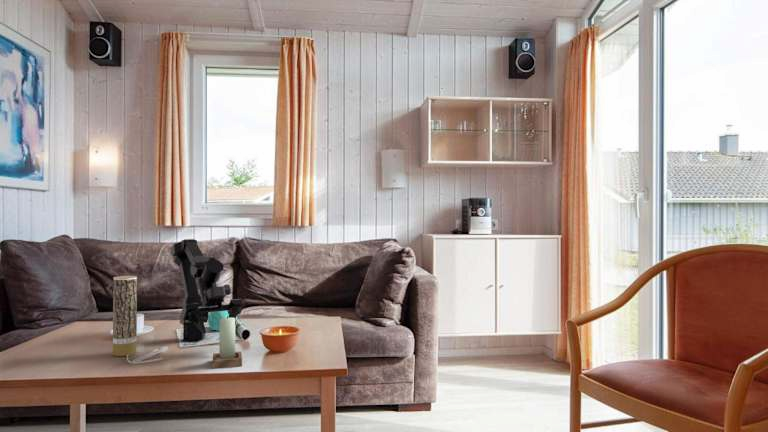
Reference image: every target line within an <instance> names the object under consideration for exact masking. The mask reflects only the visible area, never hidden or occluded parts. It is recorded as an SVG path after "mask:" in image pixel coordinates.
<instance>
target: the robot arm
mask: <svg viewBox="0 0 768 432" xmlns="http://www.w3.org/2000/svg"><path fill="white" fill-rule="evenodd" d="M170 256H171V257H172V259H173V262H174V263H175V264H176V265H177V266H178V267H179V270H180V275H181V281H182V285H183V292H184V295H185V296H184V297H185V302H184V304H183V306H182V309H181V312H180V315H179V323H180V325H182V326H183V332H182V334H183V335H182V338H183V339H180V340H181V342H185V341H199V342H200V340H201V339H202V340H204V339H205V338H206V332H207V331H206V326H205V323H208V317H209V314H210V313H211V312H220V311H228V314H229V316H228V317H231V318H235V321H236V316H237V317H238V316H239V315H240V314H241V313H242V311H243V309H244V307H245V301H244V300H243V299H242V298H234V299H230V301H229V302H228V304H227V303H226V304H223V303H224V302H225V297H227V296H230V294H231V293H232V290H231V285H230V284H224V285H221V286H218V284H217V282H219V280H220V278H221V276H222V272H223V270H224V264H223V262H221V261H220V260H218V259H216V257H215V256H213V257H207V256H205V255H204V253H203V252H202V250H201V248H200V247H199V245H198V241H197V239H194V238H191V239H188V238H186V239H182V240H181V241H179V242H176V243H174V244H173V245H171V248H170ZM197 279H198V280H197ZM204 337H205V338H204ZM203 338H204V339H203ZM202 340H201V341H202Z"/></svg>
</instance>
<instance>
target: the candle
mask: <svg viewBox="0 0 768 432" xmlns="http://www.w3.org/2000/svg"><path fill="white" fill-rule="evenodd" d="M218 346H219V352H218V353H219V360H221V359H234V358H235V352H236V325H235V318H231V317H228V316H227V318H221V319H220V331H219V345H218Z"/></svg>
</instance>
